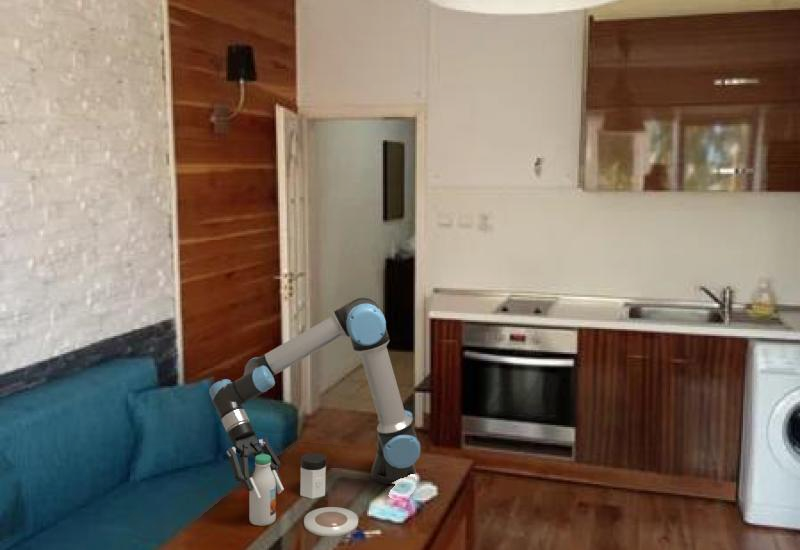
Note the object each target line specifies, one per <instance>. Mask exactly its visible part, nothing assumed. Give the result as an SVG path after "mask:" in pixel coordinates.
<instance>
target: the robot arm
mask: <svg viewBox="0 0 800 550" xmlns="http://www.w3.org/2000/svg"><path fill="white" fill-rule="evenodd" d="M386 324H387V322H386V318H385V315H384V314H383V312H382V311H381V309H380V307H379V305H378V303H377V302H376V301H374V300H372V299H370V298H368V297H358V298H355V299H352V300H351V301H349V302H347V303H346V304H345V305H343V306H341V307H339V308H337V309H336V310H334V311H333V312H332V315H331V316H330V317H328V318H326V319H325V320H323V321H320V322H319V323H317V324H316V325H313V326H312V327H310V328H309V329H307V330H305V331H303V332H301V333H300V334H298V335H296V336H295V337H293V338H291V339H289V340H287V341H286V342H284V343H282V344H280V345H278V346H277V347H275V348H274V349H272V350H270V351H269V352H266V353H264V354H262V355H261V356H259V357H253V358H251V359H249V360H248V362H247V363H246V364H245V365H244V366H245V367H244V373H243V376H241V377H239V378H238V379H236V380H235V381H231V380H230V379H227V378H226V379H225V378H224V379H221V380H219V381H218V380H217V382H214V383H213V384H212V385H211V386H210V388H209V390H208V391H209V395H210V398H211V401H212V404H213V405H214V407H215V409H216V412H217V414H218V416H219V418H220V421H221V423H222V425H223V428H224V429H225V432H226V433H227V436H228V439H229V441H230V443H231V445H232V447H229V448H228V449H227V451H226V452H225V455H226V456H227V457H228V459H229V462H230V465H231V468H232V472H233V476H234V479H235V481H236V482H237V483H238V482H240V483H241V484H244V485H245V489H246V491H247V492H249V493H250V492H251V494H252V497H253V499H254V501H255V502H257V501H258V500H259V499H260V498H261V496H260V494H259V492H258V490H257V487H256V485H255V483H254V481H253V478H252V476H251V477H250V473H249V471H250V470H249V456H253V457H254V458H255V457H256V456H257V455H260V454H267V455H269V456H270V457H271V464H270V468H271V471H272V473H273V475H274V478H275V483H276V494H278V495H279V494H281V493H282V492H283V491H284V490H285V488H284V487H283V484H282V482H281V480H282V477H281V475H280V473H279V470H278V469H279V468H280V467H281V465H282V464H281V462H280V460H279V458H278V457H277V455H276V454H275V452H274V450H273V449H272V447H271V445H270V444H269V440H268V438H267V437H264V438H261V439H259V438H258V437H257V436H256V433H255V429H254V428H253V425H252V423H251V422H250V418H249V417H248V414H247V412H246V411H245V409H244V404H246V403H247V402H251V401H252V400H253V399H255V398H257V397H259V396H260V395H262V394H264V393H266V392H268V390H270V389H272V388H273V387H274V386H275V384H276V381H275V377H274V376H276V375H277V374H279V373H281V372H282V371H285V370H286V369H288V368H290V367H291V366H293V365H295V364H296V363H298V362H300V361H302V360H304V359H306V358H308V357H309V356H311V355H313V354H314V353H315V354H316V352H318V351H320V350H322V349H323V348H325V347H327V346H329V345H331V344H332V343H334V342H336V341H337V340H339V339H341V338H343V337H344V338H350V342H351V345H352V348H353V351H354V352H355V353H358V354H359V356H360V358H361V363H362V366H363V368H364V369H363V370H364V373H365V375H366V380H367V383H368V386H369V390H370V394H371V396H372V397H371V398H372V401H373V403H374V407H375V411H376V414H377V419H376V420H377V427H376V431H377V442H376V443H377V447H376V448H377V449H376V450H377V451H376V456H375V457H374V461H373V463H372V467H371V472H370V474H371V475H370V476H371V478H372V480H374V481H375V482H376V483H379V484H383V485H387V484H391V483H392V482H394V481H396V480H398V479H400V478H404V477H407V476H408V475H410V474H416V467H415V464H416V462H417V461H418V460H419V458H420V456H421V443H420V440H419V439H418V437H417V434H416V431H415V430H416V429H415V427H414V422H413V421H414V418H413V417H414V416H413V413H412V412H411V411H409V410H407V409H405V407H404V404H403V400H402V397H401V394H400V390H399V386H398V383H397V379H396V375H395V372H394V368H393V366H392V361H391V358H390V355H389V351H388V347H387V346H388V344H389V342H390V336H389V334H388V330H387V325H386ZM237 454H239V459H238V456H237ZM416 475H417V474H416Z"/></svg>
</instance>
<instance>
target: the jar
mask: <svg viewBox="0 0 800 550" xmlns="http://www.w3.org/2000/svg"><path fill="white" fill-rule="evenodd" d="M326 476H327V457H326V455H324V454H322V453H319V452H309V453H305V454H303V455H302V456H301V457H300V488H299V490H300V492H299V494H300V496H301V497H304V498H308V499H311V500H314V499H318V498H322V497H325V496H326V484H327V483H326V480H327V477H326Z"/></svg>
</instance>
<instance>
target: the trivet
mask: <svg viewBox="0 0 800 550" xmlns="http://www.w3.org/2000/svg"><path fill="white" fill-rule="evenodd" d="M303 526H304V528H305V530H306V531H308V532H309V533H311V534H314V535H317V536H320V537H330V538H331V537H333V538H334V537H340V536H344V535H348V534H350V533H352V532H353V530H354V531H355V530H356V529H357V528H358V526H359V517H358V515H357V514H356V513H355V512H354V511H352V510H350V509H347V508H344V507H339V506H337V507H336V506H328V507H319V508H317V509H313V510H311V511H309V512H307V514H306V515H305V516H304V519H303ZM351 531H352V532H351Z"/></svg>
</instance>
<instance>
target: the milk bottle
mask: <svg viewBox="0 0 800 550" xmlns="http://www.w3.org/2000/svg"><path fill="white" fill-rule="evenodd" d="M270 464H271V457H270V456H269V455H267V454H265V453H264V454H260V455H257V456H256V457H254V465H255V467H254V470H253V474H252V475H251V477H252V478H253V481H254V483H255V485H256V487H257V490H258V492H259V494H260V496H261V498H260V499H259V500H258V501H257V502H255V501H254V499H253V497H252V494H251V492H250V491H249V504H248V505H249V508H248V509H249V510H248V511H249V513H248V514H249V522H250V523H251V524H252V525H254V526H257V525H258V526H259V527H263V526H264V527H265V526H269V525H272V524H273V523H274V522H275V521H276V519H277V518H276V517H277V491H276V483H275V478H274V475H273V473H272V471H271V468H270Z"/></svg>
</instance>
